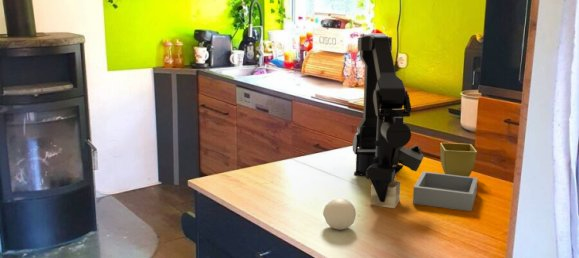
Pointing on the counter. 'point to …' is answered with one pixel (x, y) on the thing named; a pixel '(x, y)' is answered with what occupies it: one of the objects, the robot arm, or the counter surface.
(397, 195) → the small crate
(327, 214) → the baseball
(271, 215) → the counter surface
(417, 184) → the big crate
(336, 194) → the counter surface
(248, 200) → the counter surface
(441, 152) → the flower pot
